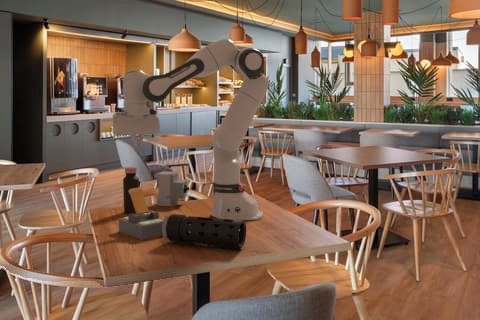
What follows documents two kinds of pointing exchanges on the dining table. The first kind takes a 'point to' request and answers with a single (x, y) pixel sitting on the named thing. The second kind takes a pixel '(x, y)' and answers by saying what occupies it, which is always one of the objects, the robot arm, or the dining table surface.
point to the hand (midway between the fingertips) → (137, 145)
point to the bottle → (129, 183)
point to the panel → (141, 226)
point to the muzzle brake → (204, 231)
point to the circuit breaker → (170, 188)
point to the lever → (139, 202)
